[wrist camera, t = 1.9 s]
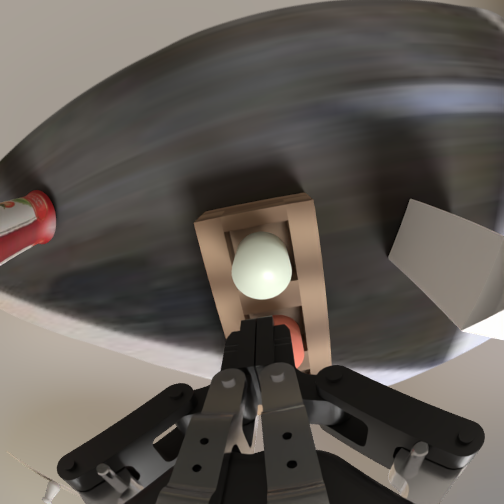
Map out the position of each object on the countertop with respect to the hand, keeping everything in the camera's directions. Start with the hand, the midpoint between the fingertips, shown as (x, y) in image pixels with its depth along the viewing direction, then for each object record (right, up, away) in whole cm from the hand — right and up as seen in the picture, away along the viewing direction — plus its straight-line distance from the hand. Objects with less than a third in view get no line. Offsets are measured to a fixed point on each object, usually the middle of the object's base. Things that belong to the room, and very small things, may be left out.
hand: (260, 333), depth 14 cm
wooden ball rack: (+2, -2, +18) cm, 18 cm away
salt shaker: (-83, -93, +52) cm, 135 cm away
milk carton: (+19, +6, +15) cm, 25 cm away
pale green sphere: (0, +4, +11) cm, 11 cm away
